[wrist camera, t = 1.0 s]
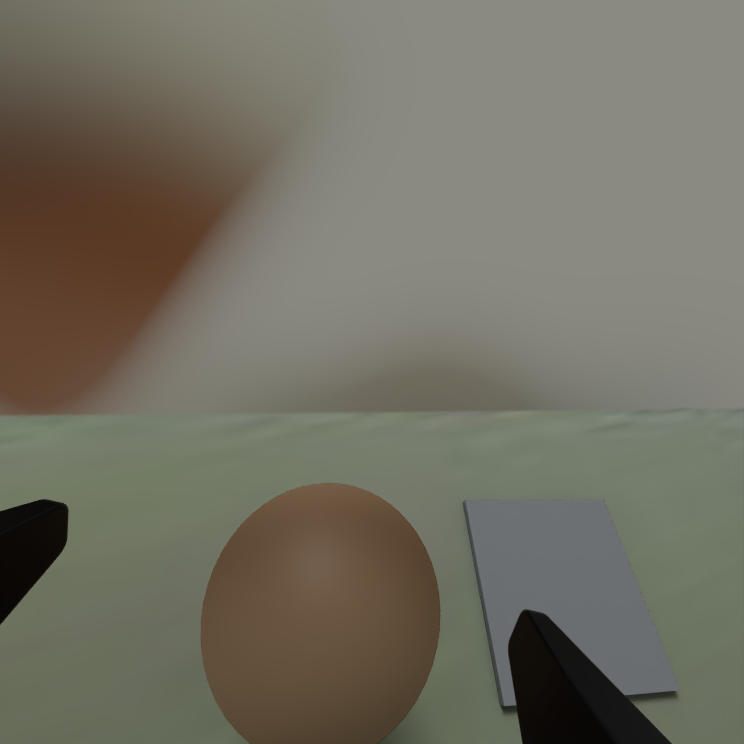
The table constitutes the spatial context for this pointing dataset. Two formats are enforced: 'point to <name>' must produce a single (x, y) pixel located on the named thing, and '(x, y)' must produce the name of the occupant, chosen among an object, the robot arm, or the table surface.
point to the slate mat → (564, 587)
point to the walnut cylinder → (320, 619)
